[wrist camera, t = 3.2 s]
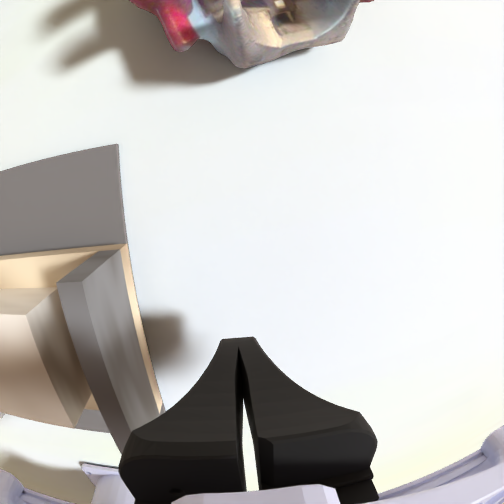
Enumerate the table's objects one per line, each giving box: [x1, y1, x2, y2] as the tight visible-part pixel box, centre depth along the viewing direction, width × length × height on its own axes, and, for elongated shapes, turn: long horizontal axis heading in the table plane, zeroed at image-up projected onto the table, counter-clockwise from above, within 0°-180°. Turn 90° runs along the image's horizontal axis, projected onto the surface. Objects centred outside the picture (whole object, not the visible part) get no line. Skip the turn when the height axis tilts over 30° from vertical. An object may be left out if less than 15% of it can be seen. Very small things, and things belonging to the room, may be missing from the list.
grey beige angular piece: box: [0, 243, 162, 454], centre depth 12 cm, size 9×12×6 cm
